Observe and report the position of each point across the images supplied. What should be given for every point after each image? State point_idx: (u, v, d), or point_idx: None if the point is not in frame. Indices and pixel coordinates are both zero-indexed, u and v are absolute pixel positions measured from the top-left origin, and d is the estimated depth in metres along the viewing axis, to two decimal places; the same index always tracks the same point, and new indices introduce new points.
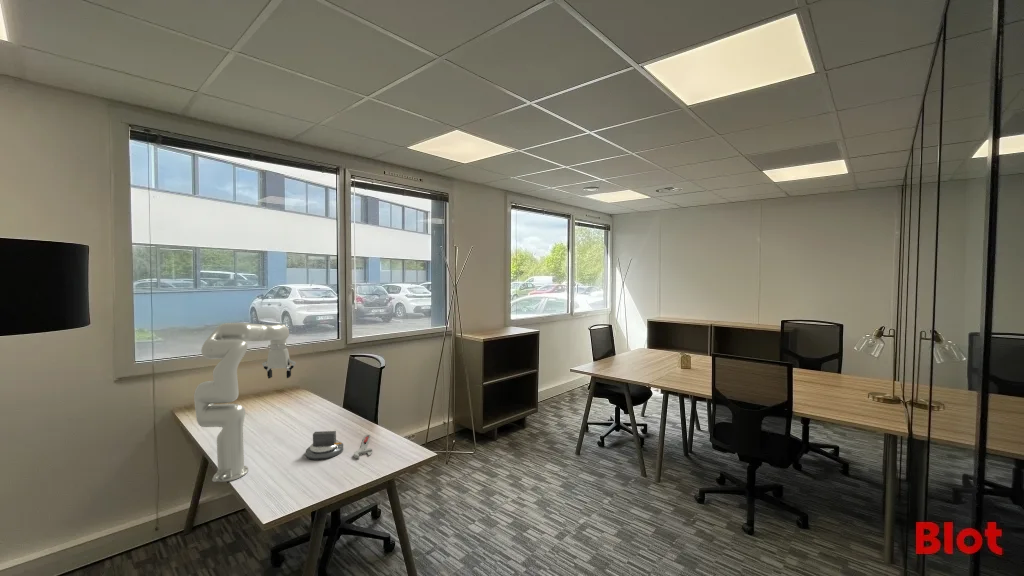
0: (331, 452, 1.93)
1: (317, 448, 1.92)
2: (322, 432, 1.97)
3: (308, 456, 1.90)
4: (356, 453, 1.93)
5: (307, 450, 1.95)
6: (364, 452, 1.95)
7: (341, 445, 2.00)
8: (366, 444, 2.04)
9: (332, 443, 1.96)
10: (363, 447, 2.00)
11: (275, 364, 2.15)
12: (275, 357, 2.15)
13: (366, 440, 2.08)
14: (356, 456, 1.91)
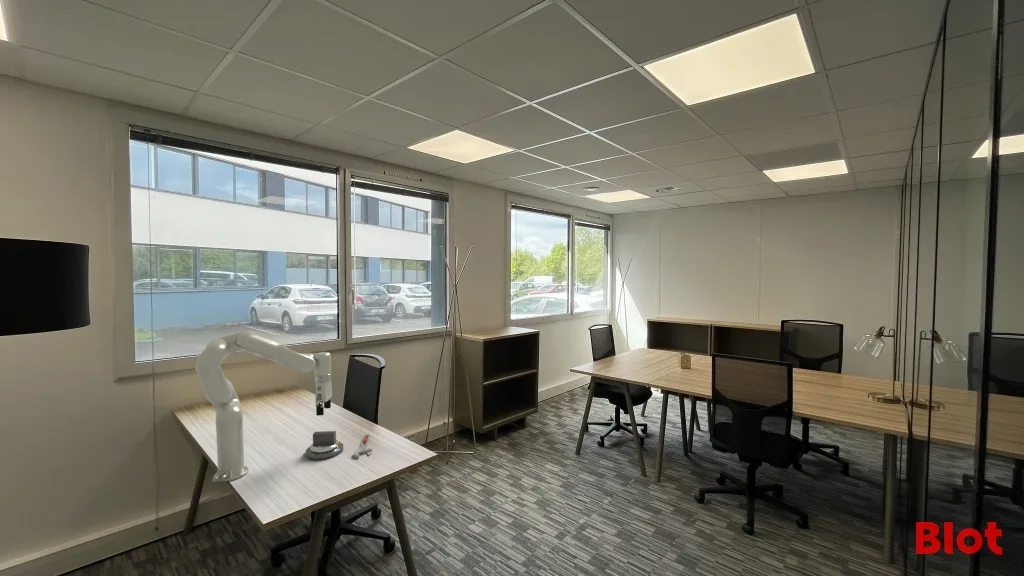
0: (331, 452, 1.93)
1: (317, 448, 1.92)
2: (322, 432, 1.97)
3: (308, 456, 1.90)
4: (356, 453, 1.93)
5: (307, 450, 1.95)
6: (364, 452, 1.96)
7: (341, 445, 2.00)
8: (366, 444, 2.04)
9: (332, 443, 1.96)
10: (363, 447, 2.01)
11: (328, 395, 1.96)
12: (328, 388, 1.96)
13: (365, 440, 2.09)
14: (356, 456, 1.91)
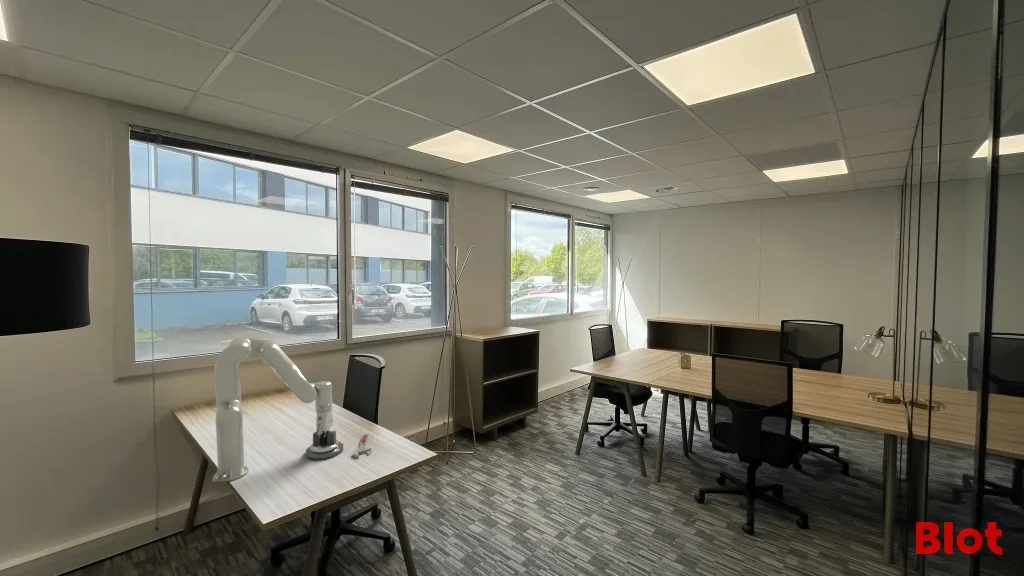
0: (331, 452, 1.93)
1: (317, 448, 1.92)
2: (322, 432, 1.97)
3: (308, 456, 1.90)
4: (355, 452, 1.93)
5: (307, 450, 1.95)
6: (363, 451, 1.96)
7: (341, 445, 2.00)
8: (364, 444, 2.04)
9: (332, 443, 1.96)
10: (362, 446, 2.01)
11: (329, 424, 1.96)
12: (329, 417, 1.96)
13: (364, 440, 2.09)
14: (356, 455, 1.91)
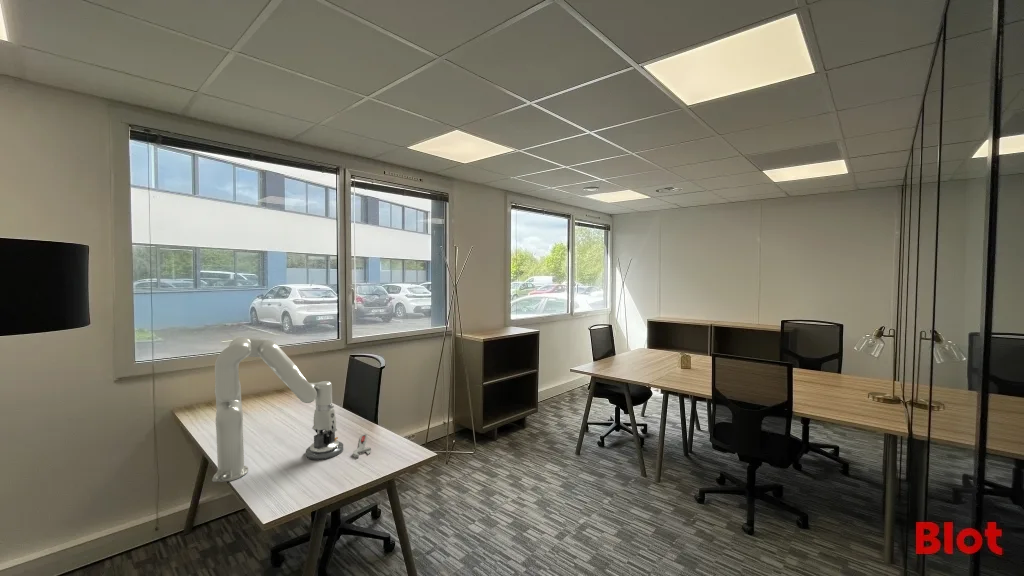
0: (331, 452, 1.93)
1: (329, 447, 1.94)
2: (322, 433, 1.96)
3: (308, 456, 1.90)
4: (355, 452, 1.93)
5: (307, 450, 1.95)
6: (363, 451, 1.96)
7: (341, 445, 2.00)
8: (364, 443, 2.05)
9: (333, 439, 2.01)
10: (361, 446, 2.01)
11: None
12: None
13: (363, 439, 2.09)
14: (355, 455, 1.92)
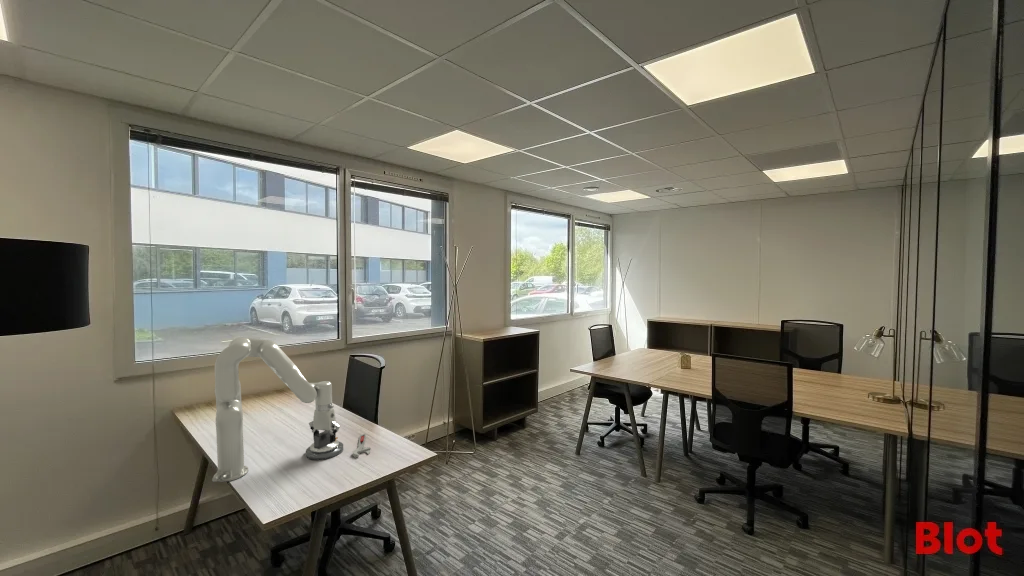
0: (331, 452, 1.93)
1: (329, 447, 1.94)
2: (322, 433, 1.96)
3: (308, 456, 1.90)
4: (355, 452, 1.94)
5: (307, 450, 1.95)
6: (363, 451, 1.97)
7: (341, 445, 2.00)
8: (363, 443, 2.05)
9: None
10: (361, 446, 2.01)
11: None
12: None
13: (362, 439, 2.09)
14: (355, 455, 1.92)
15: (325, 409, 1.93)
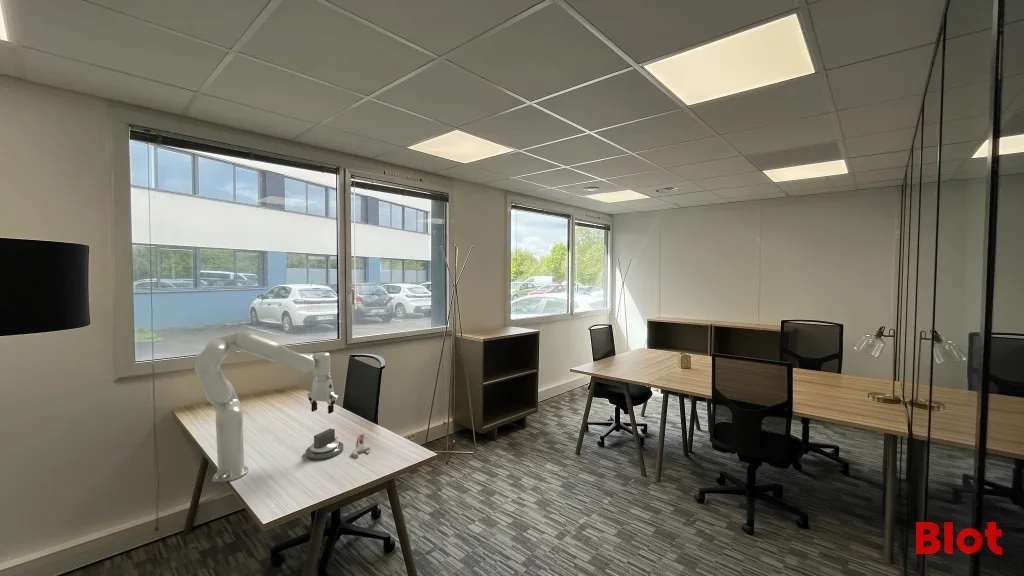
0: (331, 452, 1.93)
1: (329, 447, 1.94)
2: (322, 433, 1.96)
3: (308, 456, 1.90)
4: (355, 452, 1.94)
5: (307, 450, 1.95)
6: (362, 451, 1.97)
7: (341, 445, 2.00)
8: (362, 443, 2.05)
9: (333, 439, 2.01)
10: (360, 446, 2.02)
11: None
12: None
13: (361, 439, 2.10)
14: (355, 455, 1.92)
15: (323, 379, 1.93)
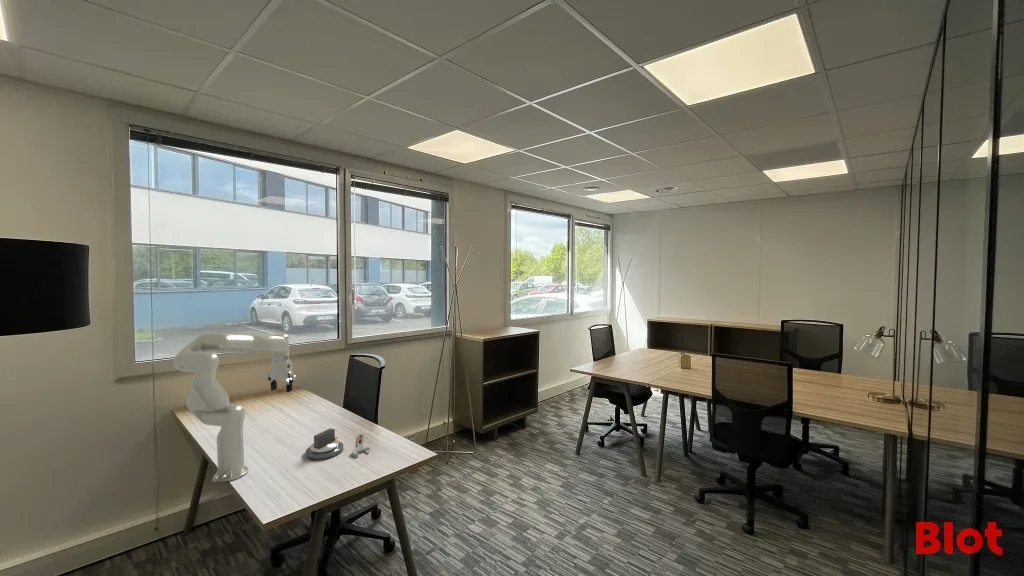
0: (331, 452, 1.93)
1: (329, 447, 1.94)
2: (322, 433, 1.96)
3: (308, 456, 1.90)
4: (354, 452, 1.94)
5: (307, 450, 1.95)
6: (362, 450, 1.97)
7: (341, 445, 2.00)
8: (362, 443, 2.05)
9: (333, 439, 2.01)
10: (359, 446, 2.02)
11: None
12: None
13: (361, 439, 2.10)
14: (355, 455, 1.92)
15: (281, 359, 2.01)
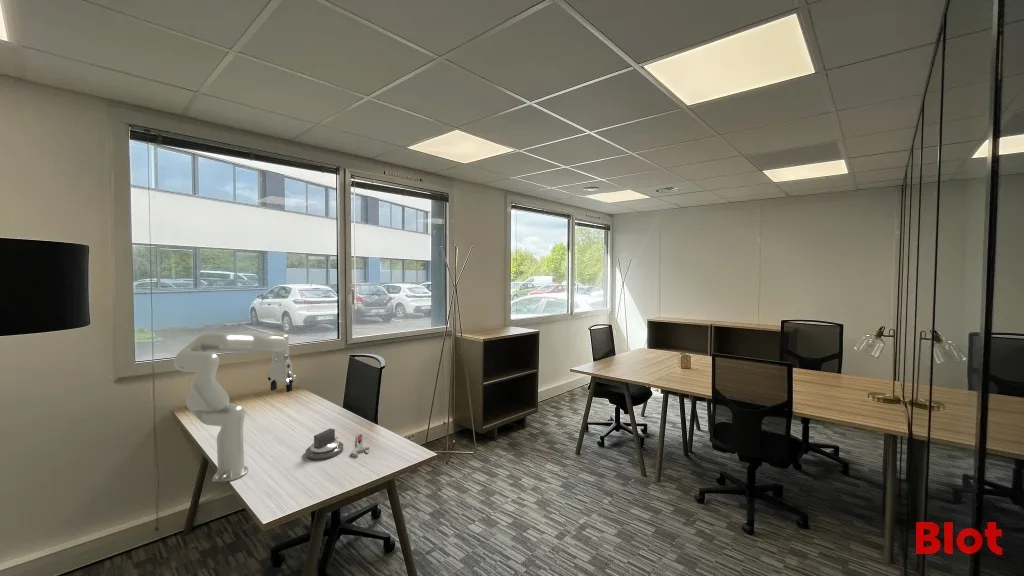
0: (331, 452, 1.93)
1: (329, 447, 1.94)
2: (322, 433, 1.96)
3: (308, 456, 1.90)
4: (354, 452, 1.94)
5: (307, 450, 1.95)
6: (362, 450, 1.97)
7: (341, 445, 2.00)
8: (361, 443, 2.05)
9: (333, 439, 2.01)
10: (359, 446, 2.02)
11: None
12: None
13: (360, 439, 2.10)
14: (355, 454, 1.92)
15: (281, 359, 2.01)
